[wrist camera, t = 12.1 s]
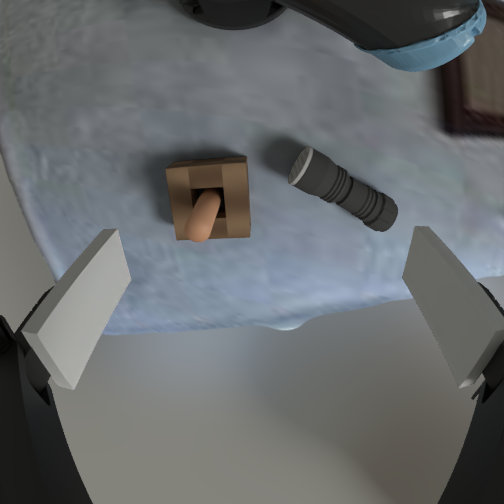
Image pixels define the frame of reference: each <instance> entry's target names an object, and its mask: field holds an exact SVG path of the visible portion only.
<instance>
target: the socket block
mask: <svg viewBox="0 0 504 504" xmlns="http://www.w3.org/2000/svg"><path fill="white" fill-rule="evenodd" d="M165 170H166V177H167V184H168V191H169V197H170V204H171V210H172V216H173V222H174V228H175V233H176V239H177V240H190V239H189V238H188V237H187V236H186V234H185V232H184V226H185V223H186V221H187V220H188V218H189V216H190V214H191V212H192V210H193V208H194V207H195V205H196V203H197V201H198V199H199V198H198V190H197V188H212V187H223V188H224V199H225V207H219V209H218V212H217V215H216V218H215V221H214V224H213V227H212V230H211V233H210V236H209V237H208V239H220V238H246V237H250V230H251V219H250V202H249V185H248V167H247V156H244V157H227V158H212V159H200V160H189V161H179V162H173V163H172V164H171V165H170V166H168V167H167V168H166V169H165Z"/></svg>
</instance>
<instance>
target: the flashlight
mask: <svg viewBox="0 0 504 504" xmlns="http://www.w3.org/2000/svg"><path fill="white" fill-rule="evenodd" d="M288 183H289V184H291V185H293V186H295V187H297V188H298V189H300V190H302V191H304V192H306V193H308V194H311V195H315V196H319V197H320V198H321V199H323V200H324V201H327V202H328V203H332V202H336V204H337V205H339V206H341V207H342V208H344V209H346V210H348V211H349V212H351V214H352V215H355V216H356V217H358V218H359V219H360V220H362V221H363V223H364V225H366V226H368V227H369V228H371V229H373V230H375V231H380V232H384V231H386V230H388V229H389V228H390V227H391V226H392V225H393V224H394V222H395V220H396V218H397V214H398V207H397V205H396V204H395V202H394V201H393V199H391V198H390V197H388V196H387V195H385V194H384V193H381V192H377V191H375V190H373V189H372V188H370V187H369V186H366V185H364V184H362V183H361V182H359V181H357V180H356V179H354V178H353V177H349V176H348V172H347V171H346V170H345V169H343V168H342V167H340V166H338V165H336V164H335V163H334V162H333V161H332V160H331V159H330V158H328V157H327V156H325V155H323V154H322V153H320V152H318V151H316V150H315V149H313V148H311V147H309V146H307V147H306V148H305V149H304V150H303V151H302V152H301V153H300V155H299V157H298V158H297V160H296V162H295V164H294V165H293V167H292V169H291V172H290V175H289V178H288Z"/></svg>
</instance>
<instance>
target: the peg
mask: <svg viewBox="0 0 504 504" xmlns="http://www.w3.org/2000/svg"><path fill="white" fill-rule="evenodd" d="M222 197H223V189H222V188H221V187H212V188H204V190H203V192H202V194H201V196H200V197H199V199H198V201H197V203H196V205H195V207H194V208H193V210H192V212H191V214H190V216H189V218H188V220H187V221H186V223H185V226H184V232H185V234H186V236H187V237H188V238H189V239H190V240H192V241H194V242H203V241H205V240H206V239H208V237H209V236H210V233H211V230H212V227H213V224H214V221H215V218H216V215H217V212H218V209H219V206H220V203H221V200H222Z"/></svg>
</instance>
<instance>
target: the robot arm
mask: <svg viewBox="0 0 504 504" xmlns="http://www.w3.org/2000/svg"><path fill="white" fill-rule="evenodd" d="M179 1H180V3H181V4H182V6H183V7H184V8H185V10H186V11H187V12H188V13H189V14H190V15H191V16H192V17H194V18H195V19H196V20H198V21H199V22H201V23H203V24H205V25H208V26H211V27H214V28H218V29H224V30H244V29H250V28H254V27H258V26H261V25H263V24H266V23H268V22H270V21H272V20H274V19H275V18H277V17H278V16H279V15H280V14H282V13H283V12H284V11H285V10H286V9H287V7H288V8H290V9H292V10H294V11H296V12H298V13H300V14H303V15H305V16H307V17H309V18H310V19H312V20H314V21H316V22H318V23H320V24H322V25H324V26H326V27H327V28H329V29H331V30H333V31H334V32H336V33H338V34H340V35H341V36H343V37H345V38H346V39H348V40H350V41H351V42H353V43H354V45H355V46H356V47H357V48H358V49H360V50H362V51H364V52H367V53H370V54H372V55H374V56H375V57H377V58H378V59H380V60H381V61H383V62H384V63H386V64H388V65H389V66H391V67H393V68H395V69H398V70H404V71H408V72H417V71H424V70H429V69H432V68H435V67H438V66H440V65H442V64H444V63H446V62H448V61H450V60H452V59H454V58H455V57H457V56H458V55H460V54H461V53H463V52H464V51H465V50H466V49H467V48H469V47H470V46H471V45H472V44H473V43H474V41H475V39H474V36H475V35H478V34H481V32H482V31H483V29H484V26H485V23H486V11H485V9H484V7H483V4H482V2H481V0H179ZM402 278H403V280H404V282H405V284H406V285H407V287H408V289H409V290H410V292H411V294H412V296H413V297H414V299H415V301H416V303H417V305H418V306H419V308H420V310H421V312H422V313H423V316H424V317H425V319H426V321H427V323H428V325H429V327H430V329H431V330H432V333H433V335H434V337H435V338H436V341H437V343H438V345H439V347H440V349H441V351H442V353H443V355H444V357H445V359H446V361H447V363H448V366H449V368H450V370H451V372H452V374H453V376H454V379H455V381H456V383H457V386H458V388H461V387H465V386H468V385H472V384H474V383H475V382H476V380H477V379H478V378H479V376H480V375H481V374H482V373H483V375H484V377H485V380H484V382H483V383H482V385H481V386H480V387H479V388H478V389H477V391H476V392H475V393H474V394H473V396H472V398H471V399H474V398H475V397H476V396H477V395H478V394H479V396H478V400H477V404H476V408H475V411H474V415H473V417H472V421H471V424H470V427H469V430H468V433H467V436H466V439H465V442H464V445H463V448H462V450H461V453H460V455H459V458H458V461H457V463H456V465H455V468H454V470H453V472H452V475H451V477H450V479H449V481H448V483H447V486H446V488H445V490H444V492H443V494H442V496H441V498H440V500H439V502H438V504H504V310H503V308H502V307H500V304H499V303H498V302H497V300H495V298H494V296H493V295H492V294H491V293H490V292H489V290H488V289H487V288H485V287H484V286H483V285H482V284H481V283H479V282H477V281H476V280H475V279H474V277H473V276H472V275H471V274H470V272H469V271H468V270H467V269H466V268H465V266H464V265H463V264H462V263H461V262H460V261H459V259H458V258H457V257H456V256H455V255H454V254H453V253H452V251H451V250H450V249H449V248H448V247H447V246H446V245H445V244H444V243H443V241H442V240H441V239H440V238H439V237H438V236H437V235H436V234H435V233H434V232H433V231H432V230H431V229H430V228H429V227H426V226H415V227H414V232H413V236H412V241H411V245H410V249H409V253H408V257H407V261H406V265H405V268H404V272H403V276H402ZM130 281H131V277H130V274H129V270H128V267H127V263H126V259H125V256H124V252H123V248H122V244H121V240H120V236H119V232H118V229H103V231H102V232H101V233H100V234H99V235H98V236H97V237H96V238H95V239H94V240H93V241H92V242H91V244H90V245H89V246H88V247H87V248H86V249H85V250H84V251H83V253H82V254H81V255H80V256H79V257H78V258H77V259H76V261H75V262H74V263H73V264H72V265H71V267H70V268H69V269H68V270H67V271H66V272H65V274H64V275H63V276H62V277H61V279H60V280H59V281H58V282H57V283H56V285H55V286H53V287H52V288H51V289H49V290H48V291H47V292H45V293H44V294H43V296H42V297H41V298H40V299H39V301H38V304H36V305H35V306H34V307H33V309H32V311H30V313H29V314H28V316H27V317H26V318H25V319H24V321H23V322H22V324H21V325H20V327H19V328H18V329H17V331H16V332H15V333H13V331H12V330H11V328H10V326H9V324H8V323H7V321H6V319H5V318H4V317H3V316H2V315H0V504H93V503H92V501H91V499H90V497H89V495H88V493H87V490H86V488H85V486H84V484H83V482H82V480H81V477H80V475H79V472H78V470H77V467H76V465H75V462H74V460H73V457H72V455H71V452H70V449H69V447H68V444H67V441H66V438H65V435H64V432H63V429H62V426H61V422H60V419H59V416H58V412H57V409H56V405H55V401H54V397H53V393H52V390H51V387H50V385H49V384H48V380H49V378H50V376H51V377H52V378H53V380H54V381H55V382H56V384H57V385H58V386H61V387H64V388H68V389H72V390H74V389H75V387H76V385H77V383H78V381H79V378H80V376H81V374H82V372H83V370H84V368H85V366H86V364H87V361H88V359H89V357H90V355H91V353H92V351H93V349H94V347H95V345H96V343H97V341H98V339H99V337H100V336H101V334H102V332H103V330H104V328H105V326H106V324H107V322H108V320H109V318H110V317H111V315H112V313H113V311H114V309H115V307H116V306H117V304H118V302H119V300H120V298H121V297H122V295H123V293H124V291H125V290H126V288H127V286H128V284H129V283H130Z"/></svg>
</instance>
